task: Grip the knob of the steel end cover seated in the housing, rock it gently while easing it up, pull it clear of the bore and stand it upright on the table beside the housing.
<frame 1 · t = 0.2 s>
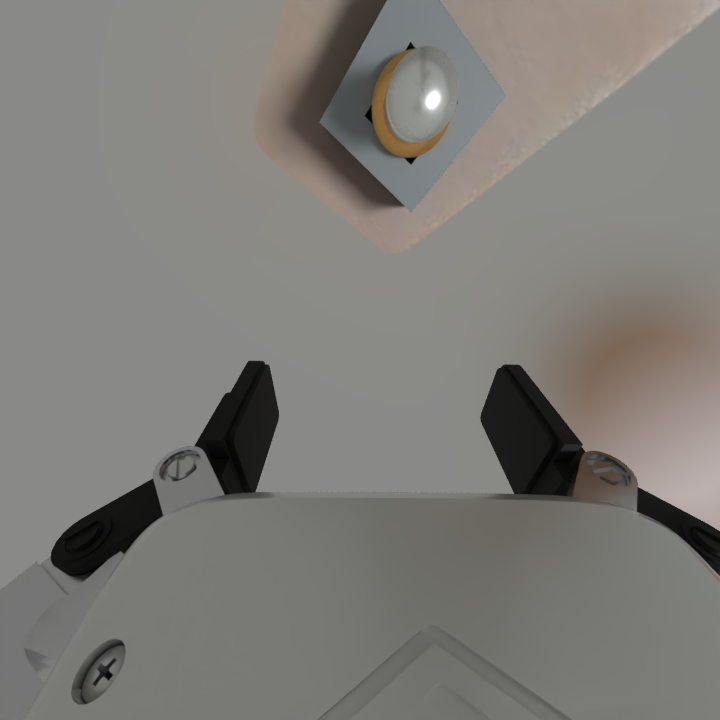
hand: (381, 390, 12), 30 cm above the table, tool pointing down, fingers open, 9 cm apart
housing: (403, 116, 30), on the table
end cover: (405, 114, 29), point 1 cm above the table, touching housing
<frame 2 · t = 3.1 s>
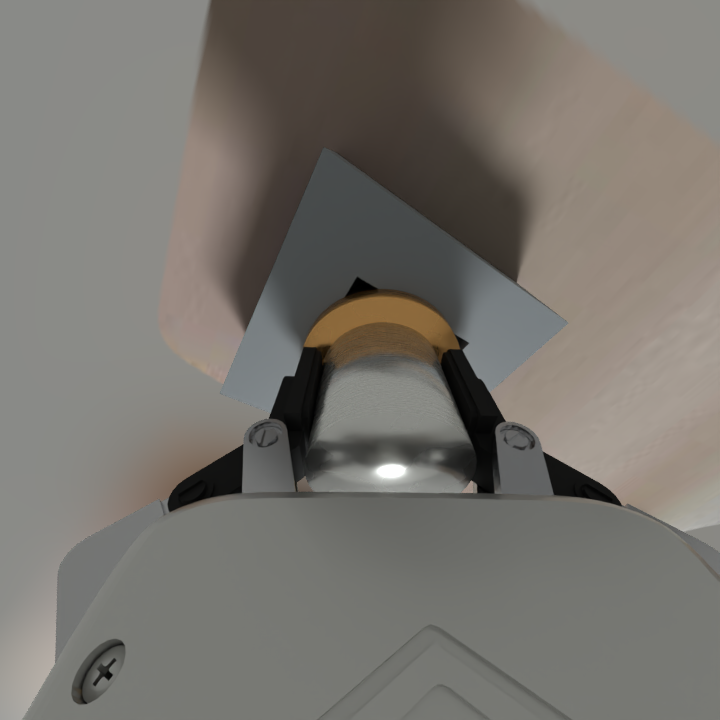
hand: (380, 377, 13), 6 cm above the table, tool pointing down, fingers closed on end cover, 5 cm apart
housing: (374, 315, 18), on the table
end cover: (375, 324, 17), point 1 cm above the table, touching gripper, housing
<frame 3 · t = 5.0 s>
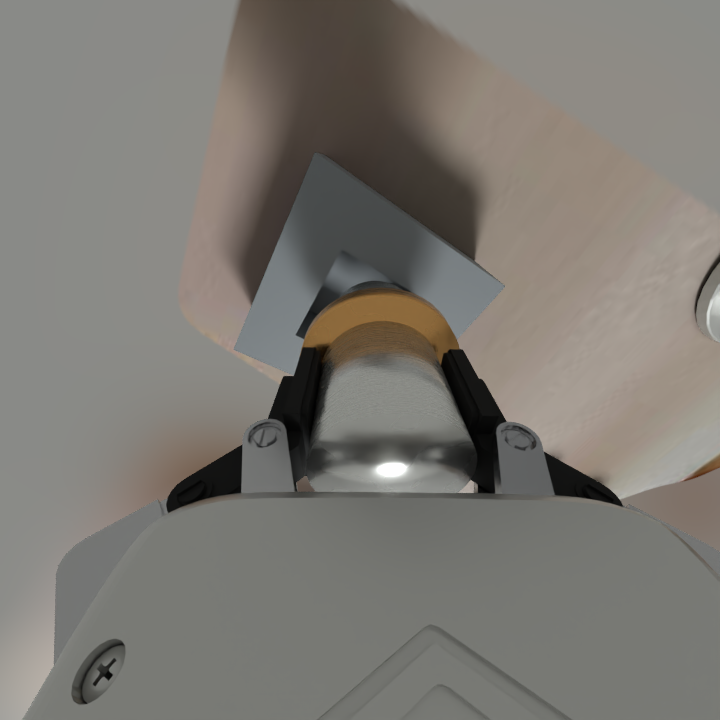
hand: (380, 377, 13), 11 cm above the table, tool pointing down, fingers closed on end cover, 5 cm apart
housing: (359, 289, 21), on the table
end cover: (373, 322, 17), point 6 cm above the table, touching gripper
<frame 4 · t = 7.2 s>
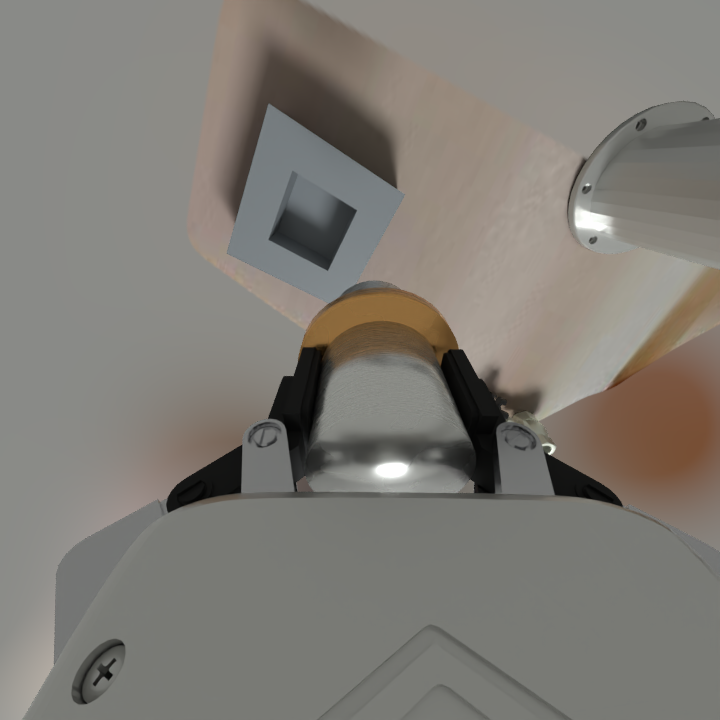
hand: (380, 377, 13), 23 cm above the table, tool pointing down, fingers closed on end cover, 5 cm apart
housing: (317, 216, 29), on the table
valve: (503, 409, 47), on the table
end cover: (372, 322, 17), point 18 cm above the table, touching gripper
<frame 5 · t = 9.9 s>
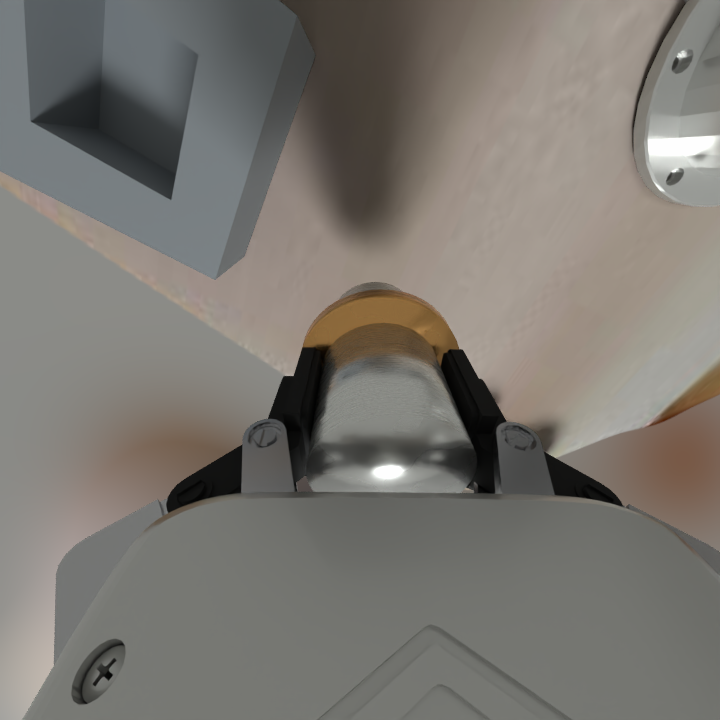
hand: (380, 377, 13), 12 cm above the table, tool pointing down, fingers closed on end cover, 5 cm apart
housing: (174, 107, 16), on the table
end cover: (373, 323, 17), point 6 cm above the table, touching gripper
when the fingers open (6 cm above the table, at t = 11.8 s): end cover drops 1 cm, on the table.
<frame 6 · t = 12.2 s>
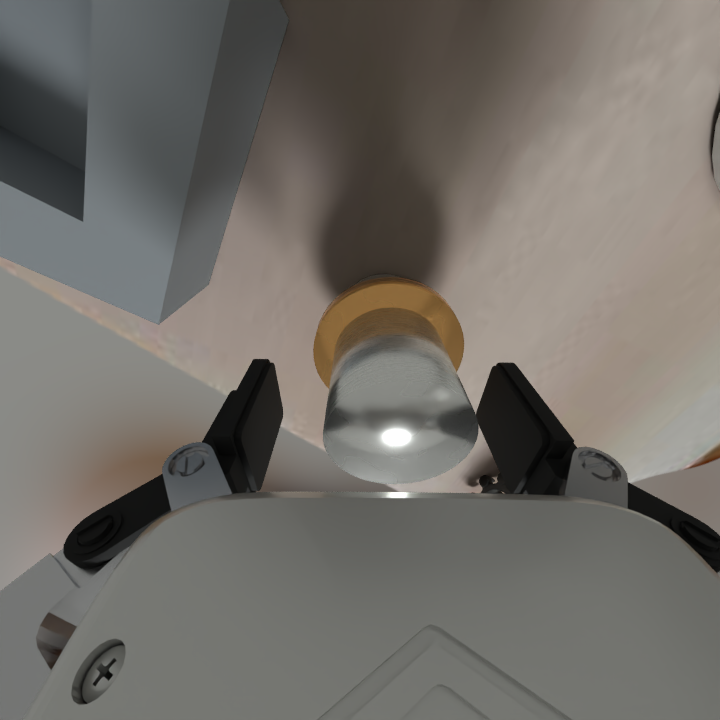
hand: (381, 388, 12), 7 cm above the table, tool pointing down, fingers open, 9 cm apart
housing: (99, 93, 12), on the table
valve: (523, 490, 30), on the table
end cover: (381, 313, 18), on the table
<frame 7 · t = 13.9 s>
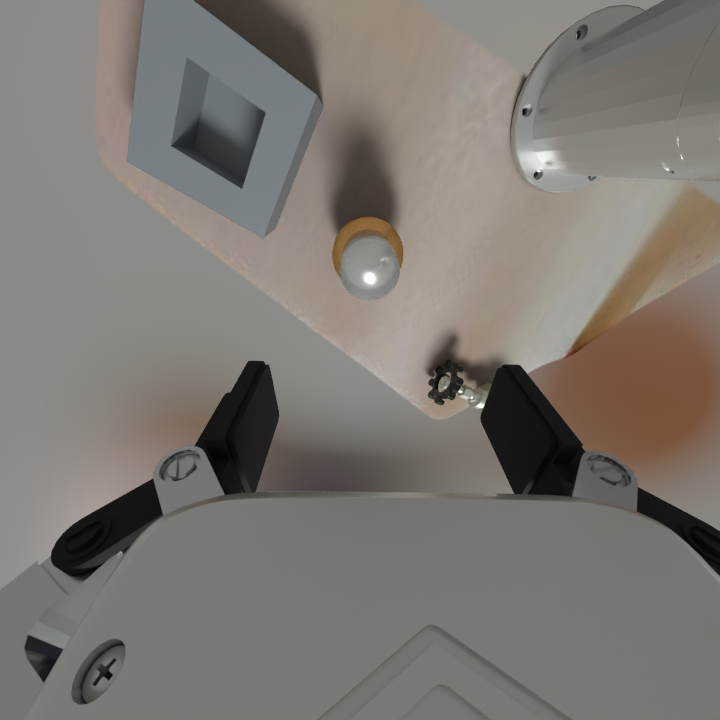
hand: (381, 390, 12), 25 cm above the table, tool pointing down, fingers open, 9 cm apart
housing: (238, 135, 27), on the table
valve: (466, 381, 45), on the table
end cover: (366, 245, 33), on the table
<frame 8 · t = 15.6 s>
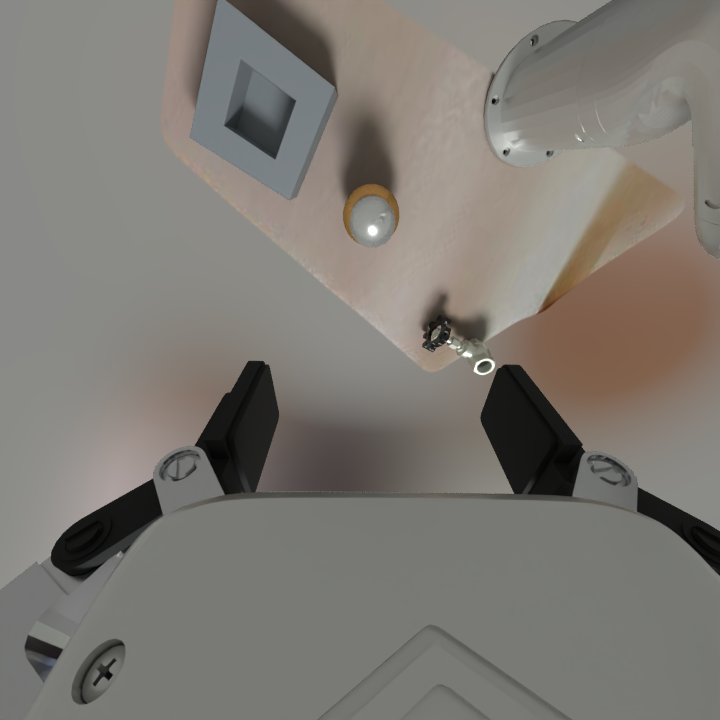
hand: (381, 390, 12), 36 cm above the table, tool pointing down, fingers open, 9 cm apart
housing: (271, 119, 35), on the table
valve: (455, 336, 53), on the table
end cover: (370, 211, 41), on the table
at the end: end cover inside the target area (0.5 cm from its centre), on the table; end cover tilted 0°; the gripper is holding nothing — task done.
